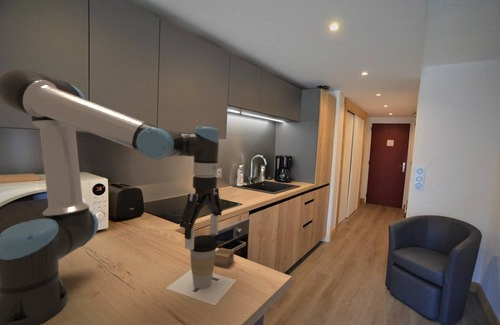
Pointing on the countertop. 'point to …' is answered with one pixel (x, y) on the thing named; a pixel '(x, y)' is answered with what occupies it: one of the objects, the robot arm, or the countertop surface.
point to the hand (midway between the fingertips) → (202, 240)
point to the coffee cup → (203, 260)
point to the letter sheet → (206, 295)
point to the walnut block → (224, 258)
